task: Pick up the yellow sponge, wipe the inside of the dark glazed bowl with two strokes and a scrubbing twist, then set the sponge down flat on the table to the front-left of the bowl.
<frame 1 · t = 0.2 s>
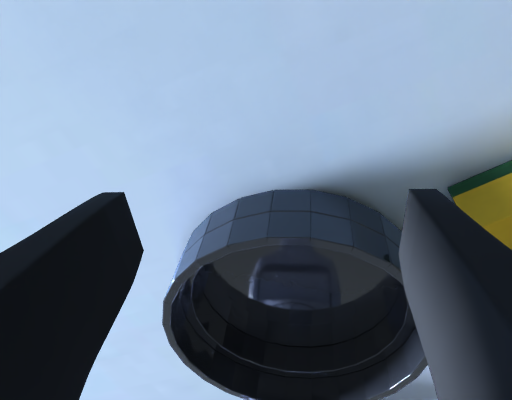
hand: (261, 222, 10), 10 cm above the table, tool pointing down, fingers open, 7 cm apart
bowl: (296, 281, 25), on the table
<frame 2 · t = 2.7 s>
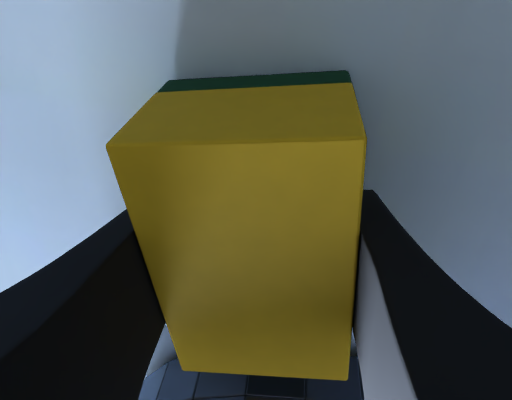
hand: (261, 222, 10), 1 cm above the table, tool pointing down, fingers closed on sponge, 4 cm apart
sponge: (265, 192, 11), on the table, touching gripper
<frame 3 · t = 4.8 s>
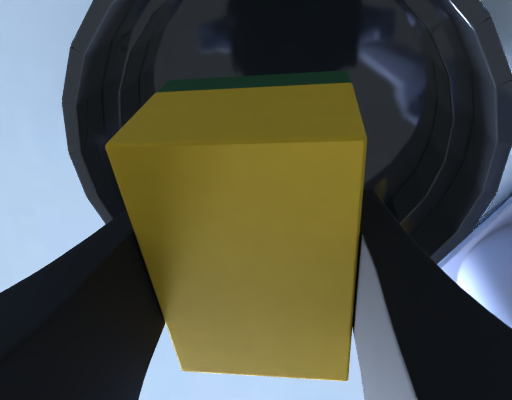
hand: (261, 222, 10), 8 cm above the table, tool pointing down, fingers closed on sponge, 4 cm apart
sponge: (265, 192, 11), point 7 cm above the table, touching gripper
bowl: (281, 120, 17), on the table
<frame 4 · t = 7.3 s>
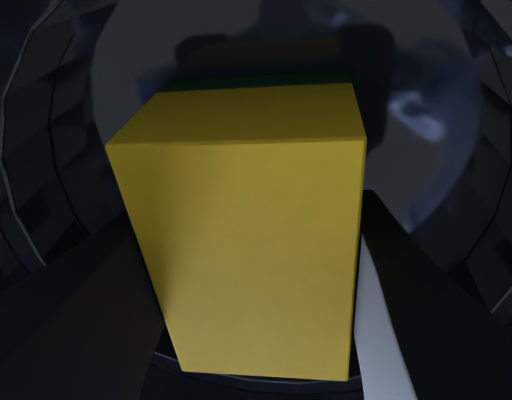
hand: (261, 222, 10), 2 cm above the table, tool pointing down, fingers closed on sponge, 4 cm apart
sponge: (265, 193, 11), point 1 cm above the table, touching gripper
bowl: (268, 185, 12), on the table
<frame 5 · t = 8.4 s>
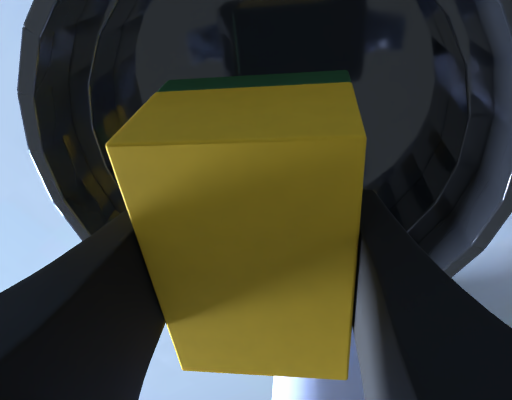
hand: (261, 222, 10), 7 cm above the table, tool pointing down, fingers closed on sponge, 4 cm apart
sponge: (265, 192, 11), point 5 cm above the table, touching gripper
bowl: (274, 117, 15), on the table
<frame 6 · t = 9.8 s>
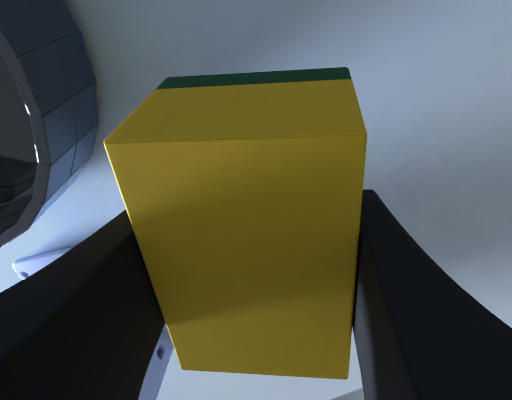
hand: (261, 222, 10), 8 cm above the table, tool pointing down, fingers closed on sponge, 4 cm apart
sponge: (265, 190, 11), point 7 cm above the table, touching gripper
when the fingers open (1 cm above the table, at t = 11.9 s): sponge stays where it is, on the table.
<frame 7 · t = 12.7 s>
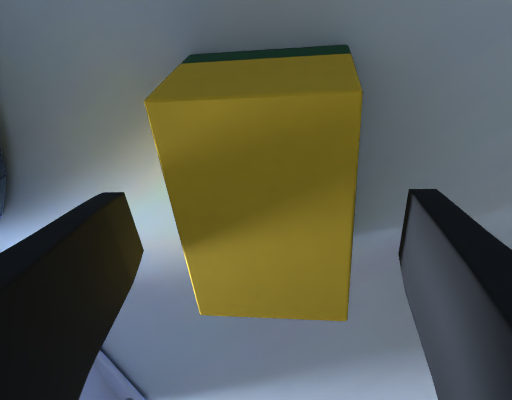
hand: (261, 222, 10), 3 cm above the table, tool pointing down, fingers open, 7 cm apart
sponge: (274, 159, 12), on the table
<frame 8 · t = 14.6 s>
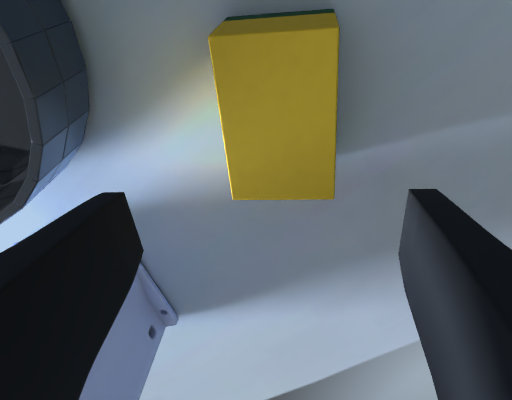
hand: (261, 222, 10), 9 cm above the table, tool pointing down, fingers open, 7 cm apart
sponge: (283, 94, 18), on the table
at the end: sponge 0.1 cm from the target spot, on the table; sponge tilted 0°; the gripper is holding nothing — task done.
